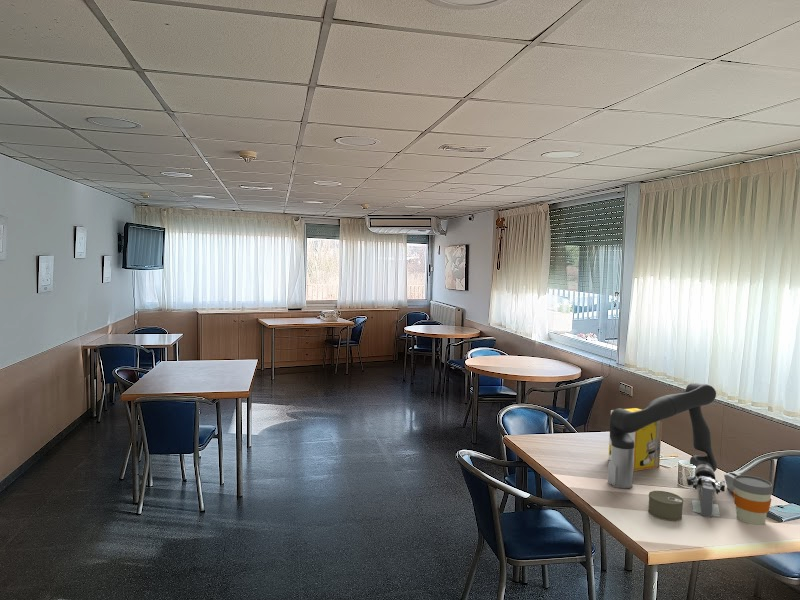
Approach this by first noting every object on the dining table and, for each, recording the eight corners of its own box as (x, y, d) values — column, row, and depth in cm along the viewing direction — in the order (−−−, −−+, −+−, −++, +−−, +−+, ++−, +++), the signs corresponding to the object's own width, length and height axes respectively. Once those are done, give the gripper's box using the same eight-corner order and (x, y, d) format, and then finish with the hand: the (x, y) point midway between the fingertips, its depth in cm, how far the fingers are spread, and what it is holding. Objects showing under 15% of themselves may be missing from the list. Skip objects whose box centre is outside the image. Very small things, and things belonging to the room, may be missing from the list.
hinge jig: (692, 500, 216) (693, 474, 216) (717, 505, 212) (719, 478, 212) (693, 513, 204) (694, 486, 203) (720, 519, 200) (721, 491, 199)
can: (651, 504, 212) (652, 488, 211) (685, 513, 204) (686, 496, 204) (644, 515, 202) (645, 497, 202) (679, 524, 195) (680, 506, 194)
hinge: (763, 504, 214) (755, 481, 214) (751, 508, 214) (744, 485, 214) (738, 488, 231) (731, 466, 230) (727, 491, 231) (721, 469, 230)
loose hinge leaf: (709, 504, 212) (711, 477, 212) (710, 510, 207) (712, 482, 206) (700, 502, 214) (701, 475, 213) (700, 508, 209) (702, 480, 208)
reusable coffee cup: (756, 529, 192) (759, 489, 191) (723, 515, 204) (726, 477, 203) (778, 524, 197) (780, 485, 196) (744, 510, 209) (747, 473, 208)
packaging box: (659, 467, 254) (662, 416, 253) (633, 471, 248) (636, 418, 247) (633, 455, 269) (635, 407, 268) (608, 459, 263) (610, 410, 262)
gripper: (686, 463, 227) (686, 476, 212) (725, 470, 220) (728, 484, 205) (685, 480, 227) (685, 494, 212) (724, 487, 220) (727, 502, 206)
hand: (706, 489), depth 209 cm, fingers open, 6 cm apart
